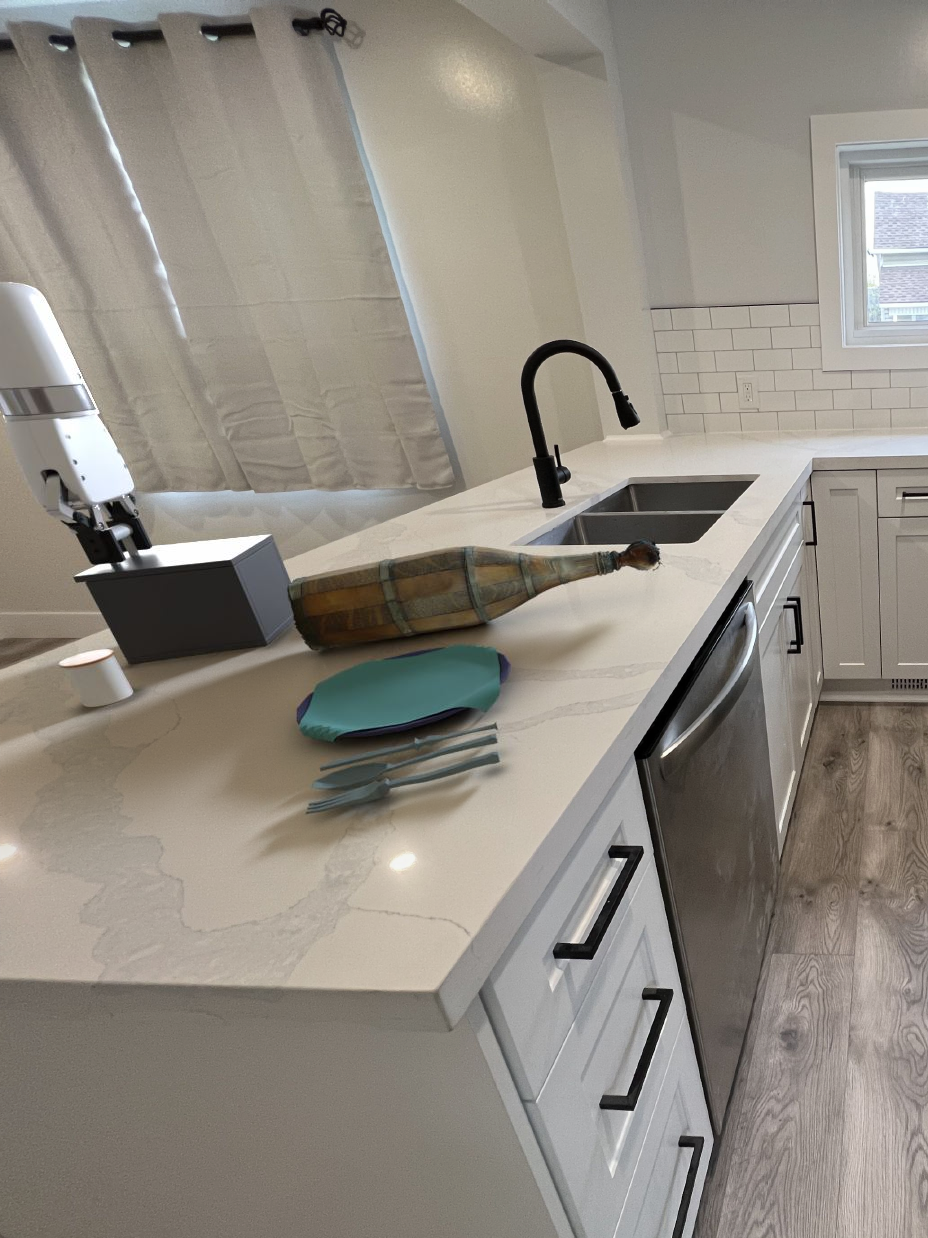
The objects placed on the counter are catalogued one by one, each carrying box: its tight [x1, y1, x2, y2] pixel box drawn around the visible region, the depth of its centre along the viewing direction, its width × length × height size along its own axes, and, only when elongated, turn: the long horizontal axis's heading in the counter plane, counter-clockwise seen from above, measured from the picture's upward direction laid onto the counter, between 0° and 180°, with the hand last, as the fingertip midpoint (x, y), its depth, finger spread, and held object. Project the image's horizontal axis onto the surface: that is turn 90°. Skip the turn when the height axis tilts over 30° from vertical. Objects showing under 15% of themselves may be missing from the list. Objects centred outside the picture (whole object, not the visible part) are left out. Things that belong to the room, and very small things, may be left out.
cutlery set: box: [296, 643, 512, 815], centre depth 71 cm, size 20×30×2 cm, turn 27°
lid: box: [72, 523, 275, 584], centre depth 88 cm, size 15×13×5 cm
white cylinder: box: [58, 648, 134, 708], centre depth 77 cm, size 4×4×5 cm
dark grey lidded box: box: [84, 539, 295, 665], centre depth 91 cm, size 15×13×11 cm
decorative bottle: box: [287, 539, 665, 652], centre depth 94 cm, size 11×11×45 cm
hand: (123, 554), depth 87 cm, fingers closed on lid, 5 cm apart
